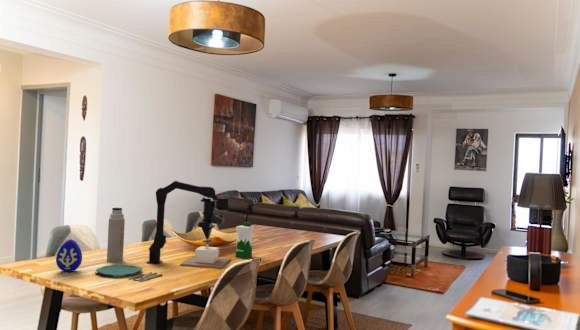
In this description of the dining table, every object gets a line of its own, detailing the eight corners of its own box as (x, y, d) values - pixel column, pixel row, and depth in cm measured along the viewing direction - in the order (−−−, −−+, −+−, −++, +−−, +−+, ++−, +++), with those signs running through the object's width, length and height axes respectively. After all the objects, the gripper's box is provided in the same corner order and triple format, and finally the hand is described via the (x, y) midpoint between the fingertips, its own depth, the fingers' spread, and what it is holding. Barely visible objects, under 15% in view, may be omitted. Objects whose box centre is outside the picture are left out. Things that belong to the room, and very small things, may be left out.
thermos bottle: (125, 259, 251) (128, 207, 251) (117, 262, 243) (119, 209, 243) (112, 258, 253) (114, 206, 253) (103, 261, 245) (106, 208, 245)
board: (221, 268, 241) (221, 266, 241) (180, 265, 244) (180, 263, 244) (230, 260, 263) (230, 258, 263) (192, 257, 266) (192, 255, 266)
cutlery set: (119, 266, 236) (120, 262, 236) (166, 276, 222) (166, 271, 222) (87, 274, 218) (87, 269, 218) (135, 285, 205) (135, 280, 205)
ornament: (53, 273, 215) (55, 241, 215) (58, 269, 224) (59, 237, 224) (79, 273, 218) (81, 241, 218) (83, 268, 227) (84, 238, 227)
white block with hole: (213, 263, 248) (213, 250, 248) (194, 262, 249) (195, 249, 249) (217, 259, 258) (218, 247, 258) (200, 258, 259) (200, 246, 259)
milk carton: (253, 256, 276) (255, 223, 276) (245, 259, 268) (247, 224, 268) (241, 254, 280) (243, 221, 280) (232, 257, 272) (234, 222, 272)
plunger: (209, 254, 251) (210, 240, 251) (201, 254, 251) (202, 240, 251) (212, 253, 256) (212, 239, 256) (203, 252, 256) (204, 239, 256)
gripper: (219, 212, 243) (217, 242, 243) (227, 209, 262) (226, 237, 262) (198, 211, 244) (196, 241, 244) (208, 208, 263) (206, 235, 263)
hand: (207, 238), depth 253 cm, fingers closed
